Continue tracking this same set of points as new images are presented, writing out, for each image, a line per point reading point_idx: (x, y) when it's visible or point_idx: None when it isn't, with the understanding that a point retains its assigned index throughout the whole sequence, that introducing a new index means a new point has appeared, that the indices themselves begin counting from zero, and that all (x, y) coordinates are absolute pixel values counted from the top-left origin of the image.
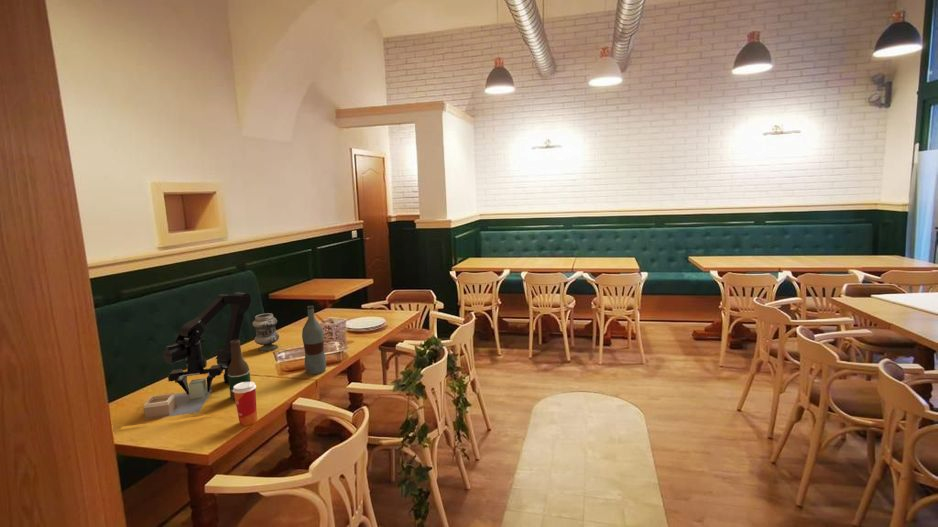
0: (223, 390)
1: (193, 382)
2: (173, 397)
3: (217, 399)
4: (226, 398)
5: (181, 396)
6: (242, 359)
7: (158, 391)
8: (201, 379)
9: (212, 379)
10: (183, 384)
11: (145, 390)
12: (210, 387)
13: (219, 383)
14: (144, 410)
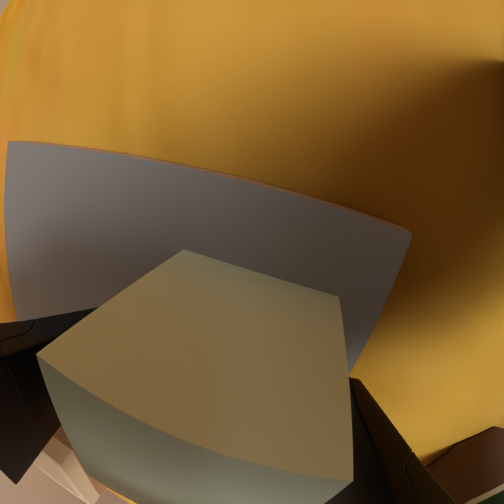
0: (485, 264)
1: (122, 481)
2: (78, 467)
3: None
4: (425, 437)
5: (86, 243)
6: None
7: (23, 20)
8: (244, 489)
9: (434, 495)
10: (37, 445)
11: (6, 6)
12: (377, 408)
13: (454, 14)
14: None
